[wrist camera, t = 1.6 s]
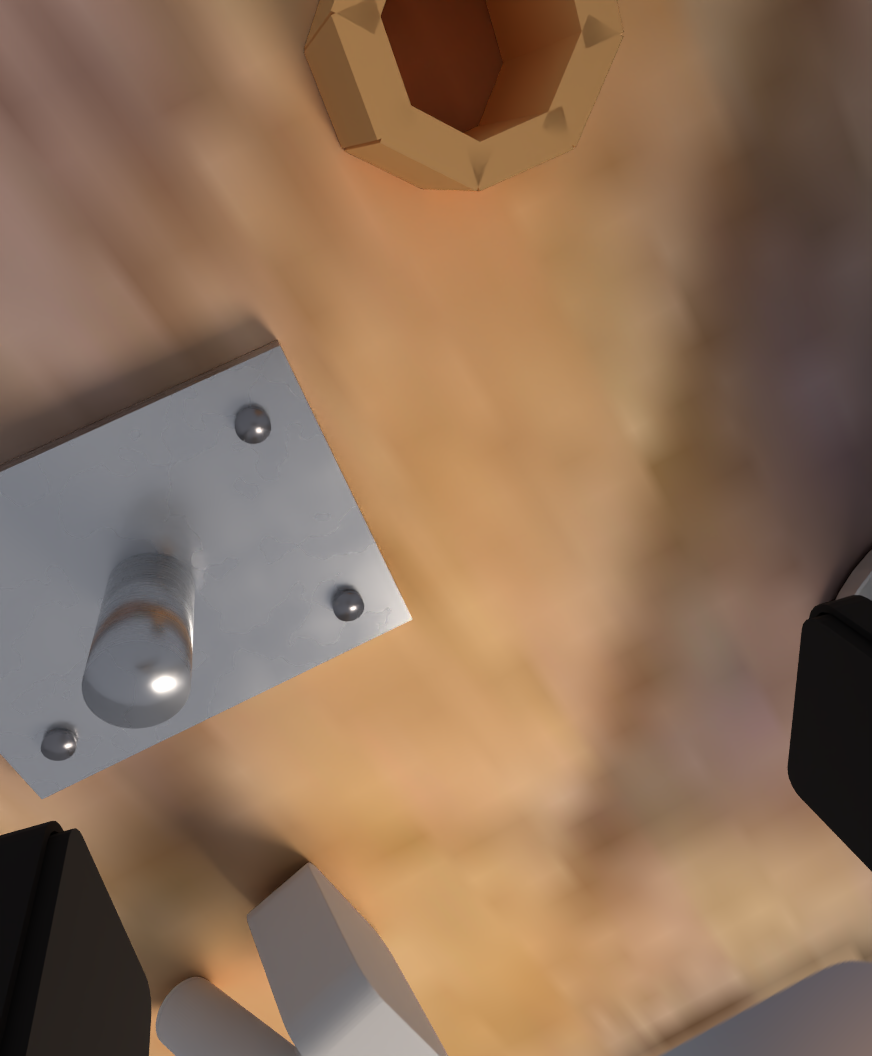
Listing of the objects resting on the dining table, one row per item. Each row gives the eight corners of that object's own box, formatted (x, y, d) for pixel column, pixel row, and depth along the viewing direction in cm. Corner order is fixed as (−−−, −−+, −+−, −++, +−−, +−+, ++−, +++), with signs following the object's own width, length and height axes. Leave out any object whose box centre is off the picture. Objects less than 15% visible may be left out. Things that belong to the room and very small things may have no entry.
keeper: (277, 340, 27) (297, 388, 20) (406, 607, 32) (453, 708, 26) (-168, 541, 26) (-288, 656, 19) (46, 781, 31) (5, 930, 25)
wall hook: (104, 981, 35) (131, 1202, 27) (289, 827, 38) (367, 984, 29) (208, 1058, 39) (260, 1273, 31) (370, 914, 41) (460, 1076, 33)
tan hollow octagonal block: (488, -118, 23) (572, -207, 18) (555, 131, 26) (642, 118, 21) (272, -28, 22) (292, -91, 17) (367, 214, 26) (408, 223, 20)
